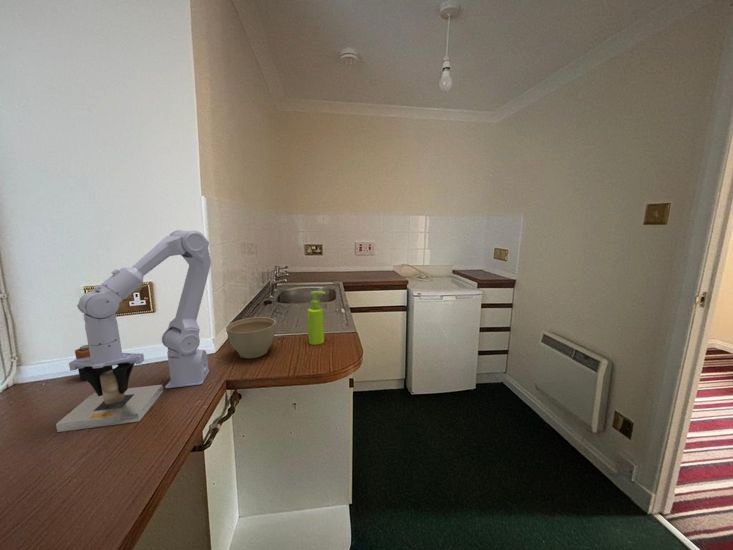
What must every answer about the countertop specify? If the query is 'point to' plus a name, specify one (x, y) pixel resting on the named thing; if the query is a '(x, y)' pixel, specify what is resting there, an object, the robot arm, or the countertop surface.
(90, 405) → the light grey flat block
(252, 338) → the planter bowl
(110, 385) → the barrel peg
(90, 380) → the robot arm
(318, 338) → the soap dispenser
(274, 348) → the countertop surface
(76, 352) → the battery
